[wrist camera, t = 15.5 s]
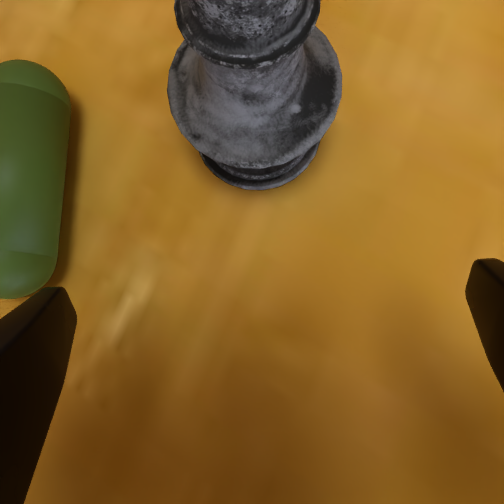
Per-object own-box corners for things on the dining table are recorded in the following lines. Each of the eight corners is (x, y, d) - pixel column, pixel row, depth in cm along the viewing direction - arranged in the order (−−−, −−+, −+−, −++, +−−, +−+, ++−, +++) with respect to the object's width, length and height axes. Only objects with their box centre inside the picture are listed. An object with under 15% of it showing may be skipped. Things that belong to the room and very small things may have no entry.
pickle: (68, 301, 17) (22, 299, 14) (-9, 299, 17) (-72, 296, 14) (88, 87, 19) (49, 41, 15) (16, 87, 19) (-37, 41, 16)
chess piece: (170, 90, 18) (-20, -323, 6) (299, 45, 18) (349, -453, 6) (213, 217, 17) (83, 8, 6) (349, 169, 17) (513, -141, 6)
